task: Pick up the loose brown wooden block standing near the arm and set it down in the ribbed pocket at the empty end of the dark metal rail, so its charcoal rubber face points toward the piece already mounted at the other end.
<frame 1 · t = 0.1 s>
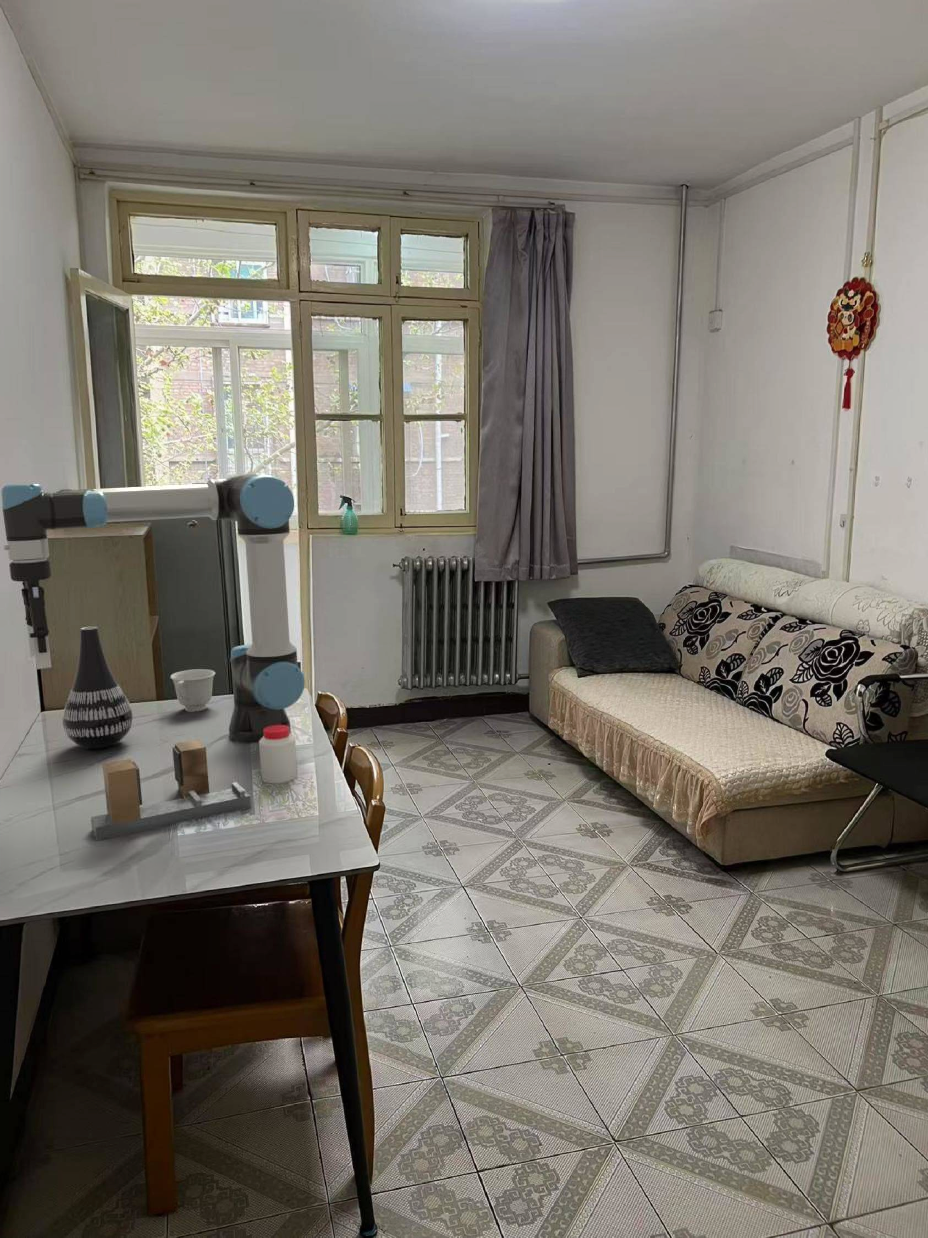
hand: (40, 661, 192), 28 cm above the table, fingers open, 13 cm apart
vase: (101, 746, 226), on the table
pill bottle: (279, 777, 201), on the table
teacup: (193, 711, 255), on the table
brown wooden block: (193, 791, 194), on the table
rail: (173, 818, 180), on the table
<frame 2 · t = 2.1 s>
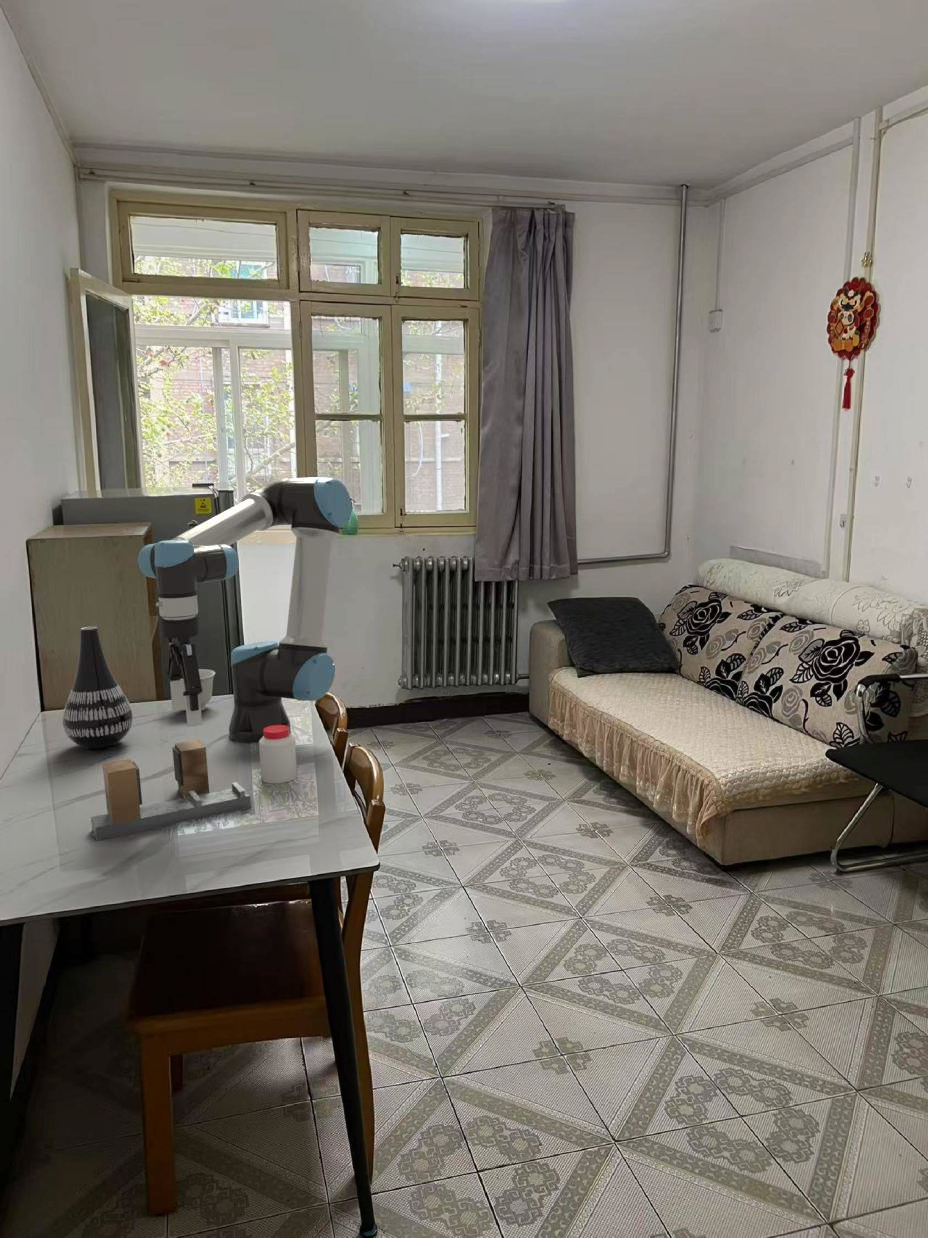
hand: (186, 717, 191), 16 cm above the table, fingers open, 13 cm apart
nothing on the table moved.
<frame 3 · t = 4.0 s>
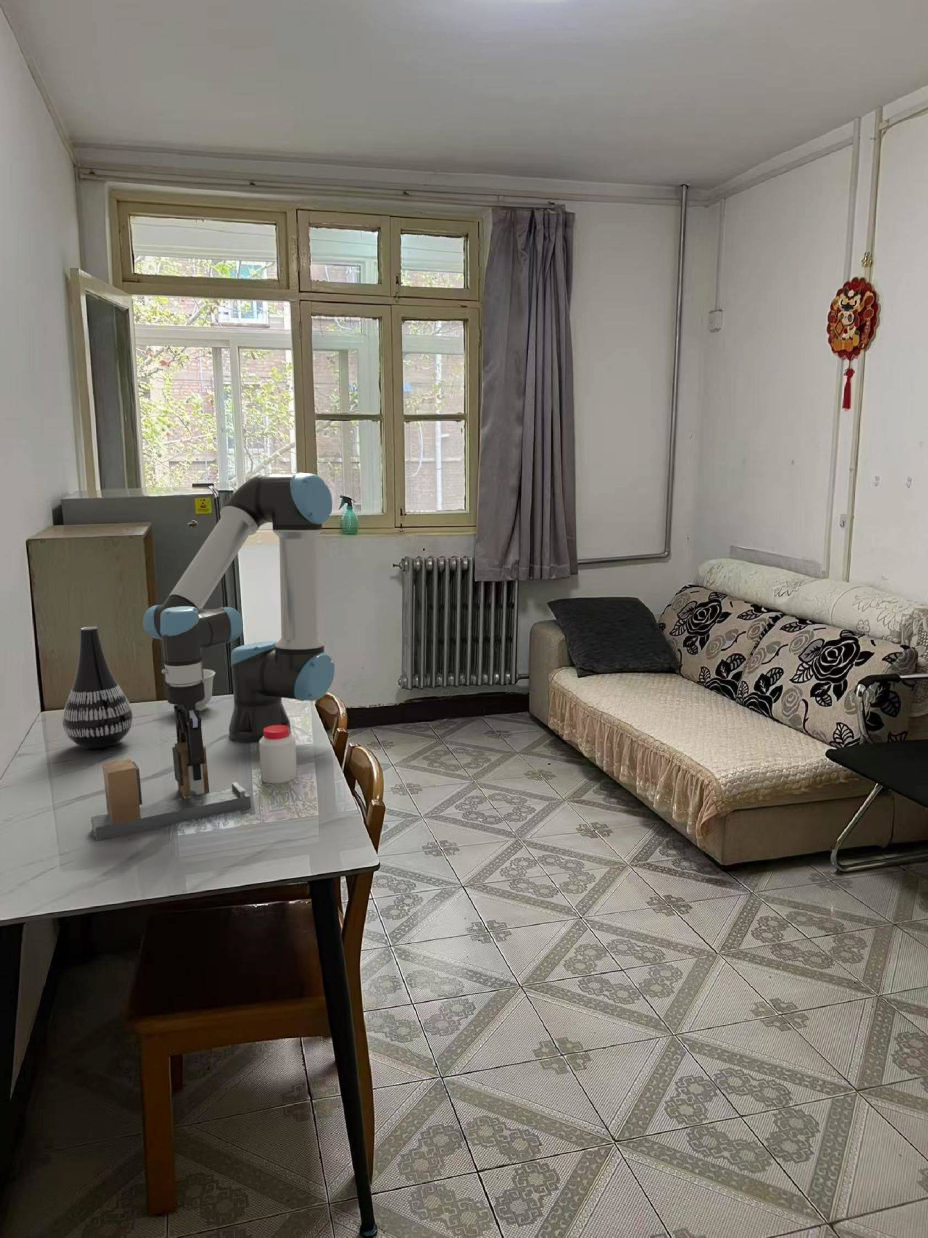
hand: (193, 788, 194), 0 cm above the table, fingers closed on brown wooden block, 6 cm apart
brown wooden block: (193, 790, 194), on the table, touching gripper
everything else where it was.
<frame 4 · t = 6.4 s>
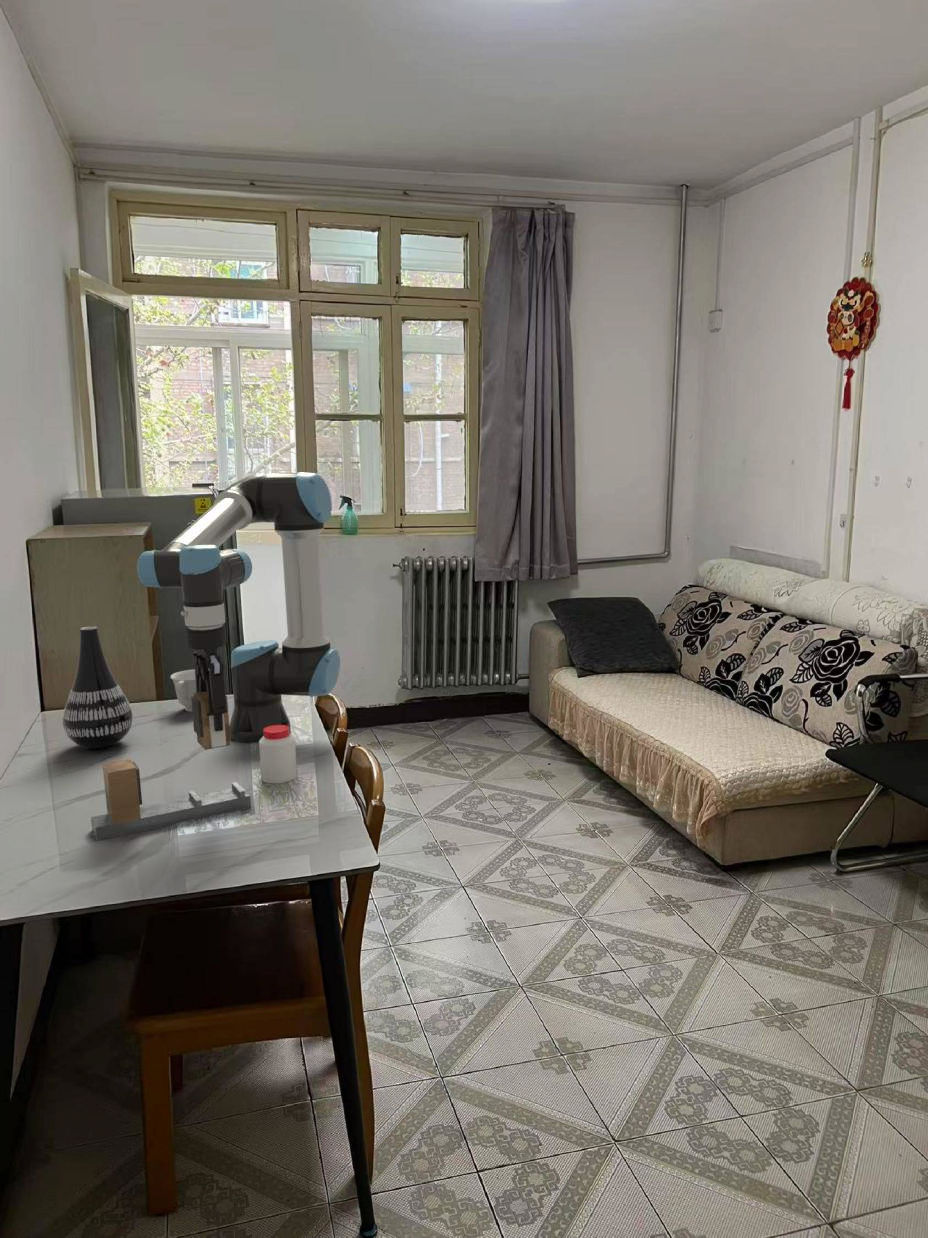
hand: (214, 741, 181), 14 cm above the table, fingers closed on brown wooden block, 6 cm apart
brown wooden block: (214, 743, 181), point 14 cm above the table, touching gripper
everything else where it was.
when the fingers open (4 cm above the table, at t = 8.8 s): brown wooden block stays where it is, resting on rail.
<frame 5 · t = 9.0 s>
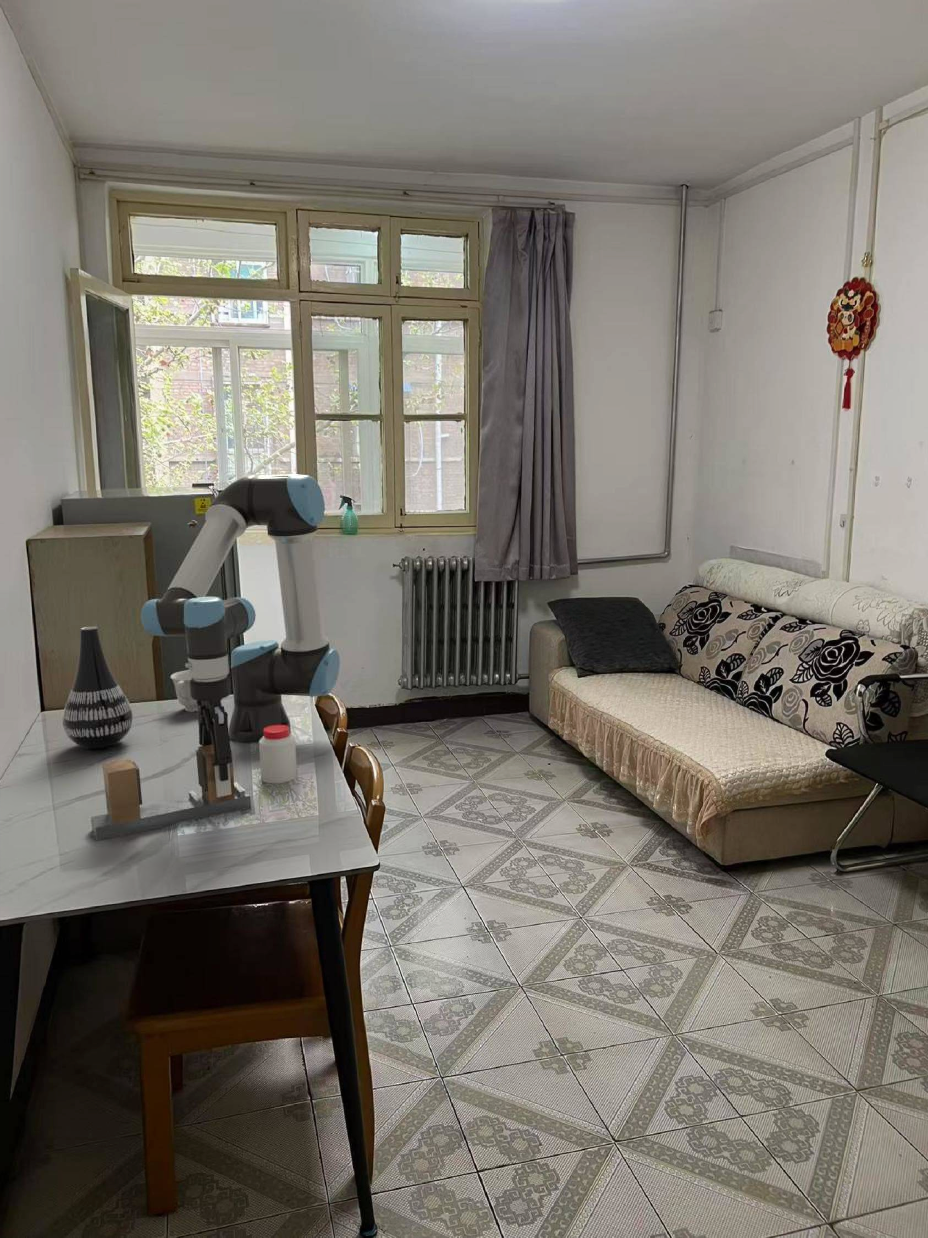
hand: (218, 788, 183), 4 cm above the table, fingers open, 8 cm apart
brown wooden block: (218, 796, 183), point 2 cm above the table, touching rail
everything else where it was.
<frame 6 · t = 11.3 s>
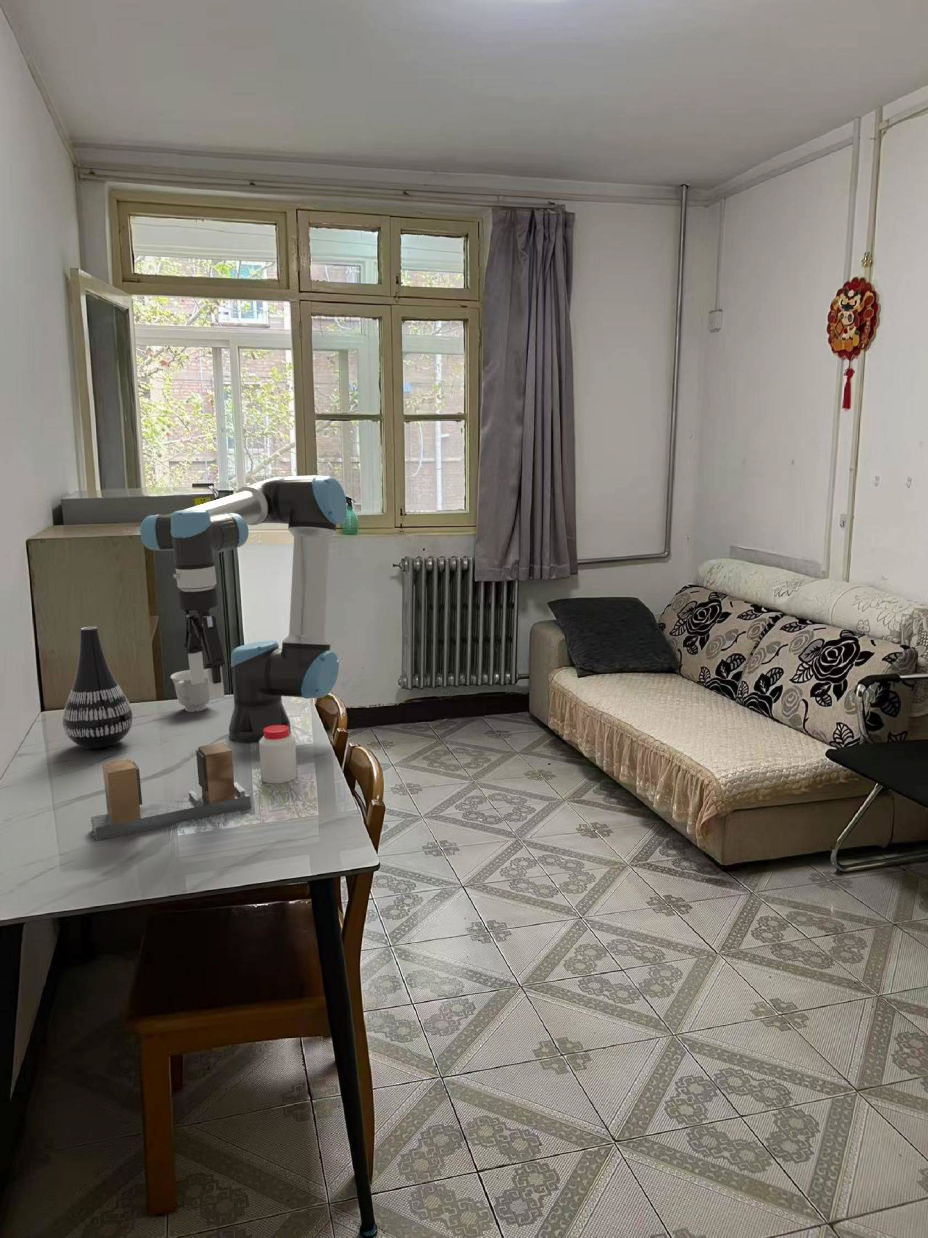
hand: (207, 690, 188), 22 cm above the table, fingers open, 13 cm apart
nothing on the table moved.
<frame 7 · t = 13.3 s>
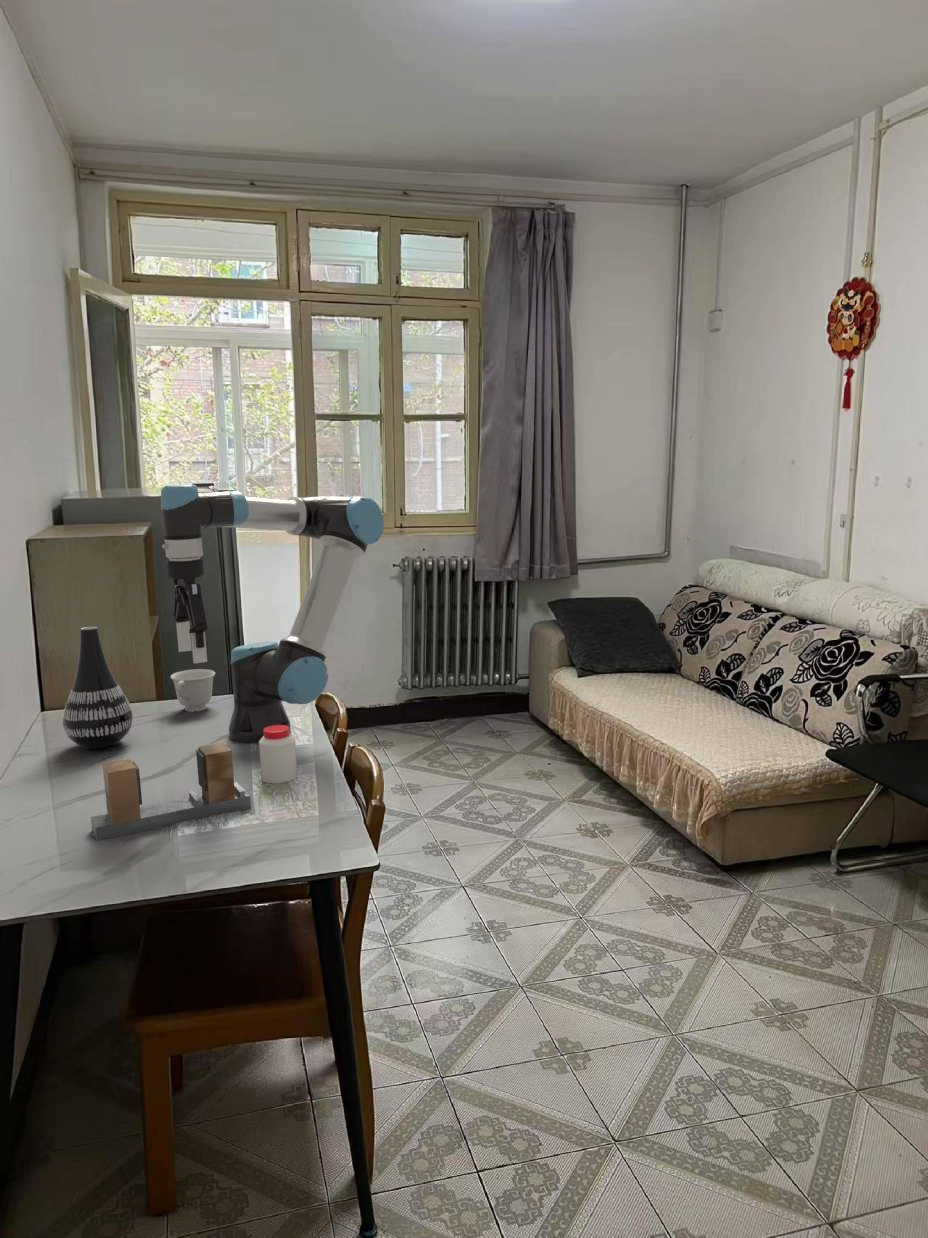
hand: (192, 656, 199), 27 cm above the table, fingers open, 13 cm apart
nothing on the table moved.
at the end: brown wooden block 0.0 cm from the target spot on the rail, point 2.5 cm above the rail's base; brown wooden block tilted 0°; the gripper is holding nothing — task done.
